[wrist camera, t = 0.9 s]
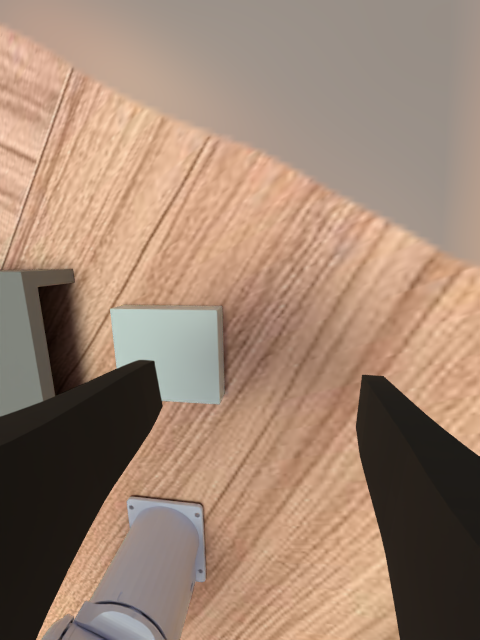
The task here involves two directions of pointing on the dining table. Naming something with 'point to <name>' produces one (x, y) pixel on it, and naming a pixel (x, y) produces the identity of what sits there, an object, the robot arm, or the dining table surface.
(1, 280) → the overhang shelf
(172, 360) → the pale blue thin plate
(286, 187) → the dining table surface
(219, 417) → the dining table surface
